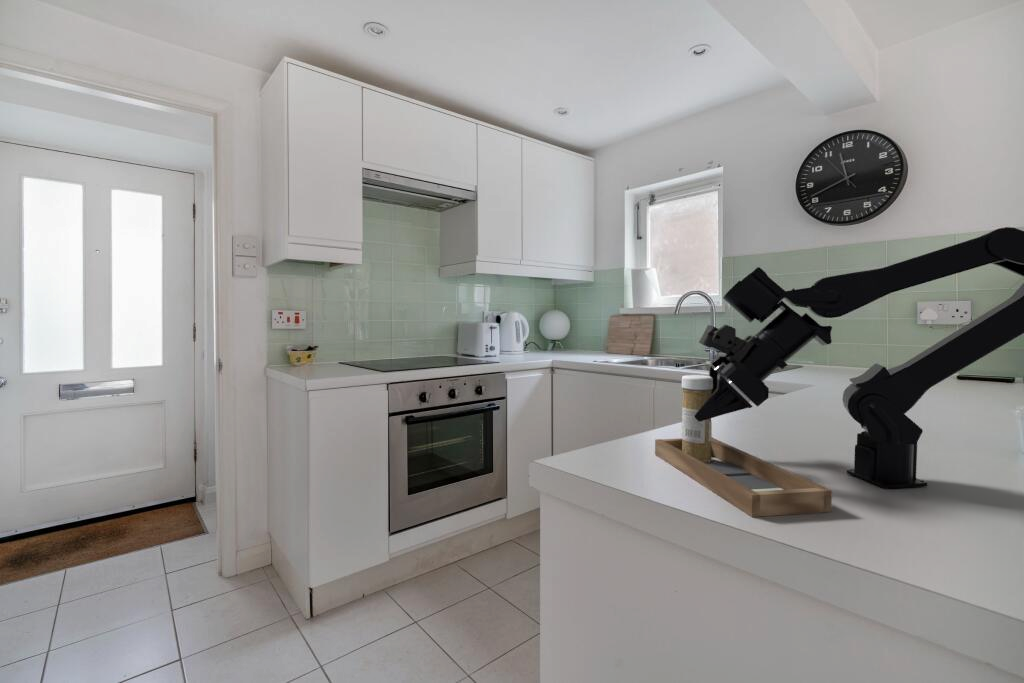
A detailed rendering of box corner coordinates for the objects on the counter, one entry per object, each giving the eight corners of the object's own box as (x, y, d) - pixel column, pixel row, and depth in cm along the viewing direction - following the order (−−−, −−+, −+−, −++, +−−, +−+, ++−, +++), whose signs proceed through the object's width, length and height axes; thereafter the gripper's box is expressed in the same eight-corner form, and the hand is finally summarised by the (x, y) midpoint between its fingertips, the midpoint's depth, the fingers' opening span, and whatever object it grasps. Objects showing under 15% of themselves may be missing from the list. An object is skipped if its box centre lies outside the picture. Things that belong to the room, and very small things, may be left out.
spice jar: (717, 461, 74) (719, 376, 73) (699, 466, 72) (701, 378, 71) (692, 454, 78) (693, 373, 77) (674, 459, 75) (675, 375, 75)
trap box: (711, 451, 79) (711, 437, 79) (831, 511, 55) (831, 490, 55) (655, 454, 78) (655, 439, 78) (751, 516, 53) (752, 495, 53)
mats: (729, 464, 72) (729, 462, 72) (779, 490, 61) (779, 487, 61) (682, 467, 71) (682, 464, 71) (725, 493, 60) (725, 490, 60)
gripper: (725, 308, 81) (657, 369, 85) (744, 305, 63) (656, 383, 67) (775, 355, 79) (703, 416, 83) (809, 365, 61) (715, 442, 65)
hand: (694, 413), depth 75 cm, fingers open, 9 cm apart
